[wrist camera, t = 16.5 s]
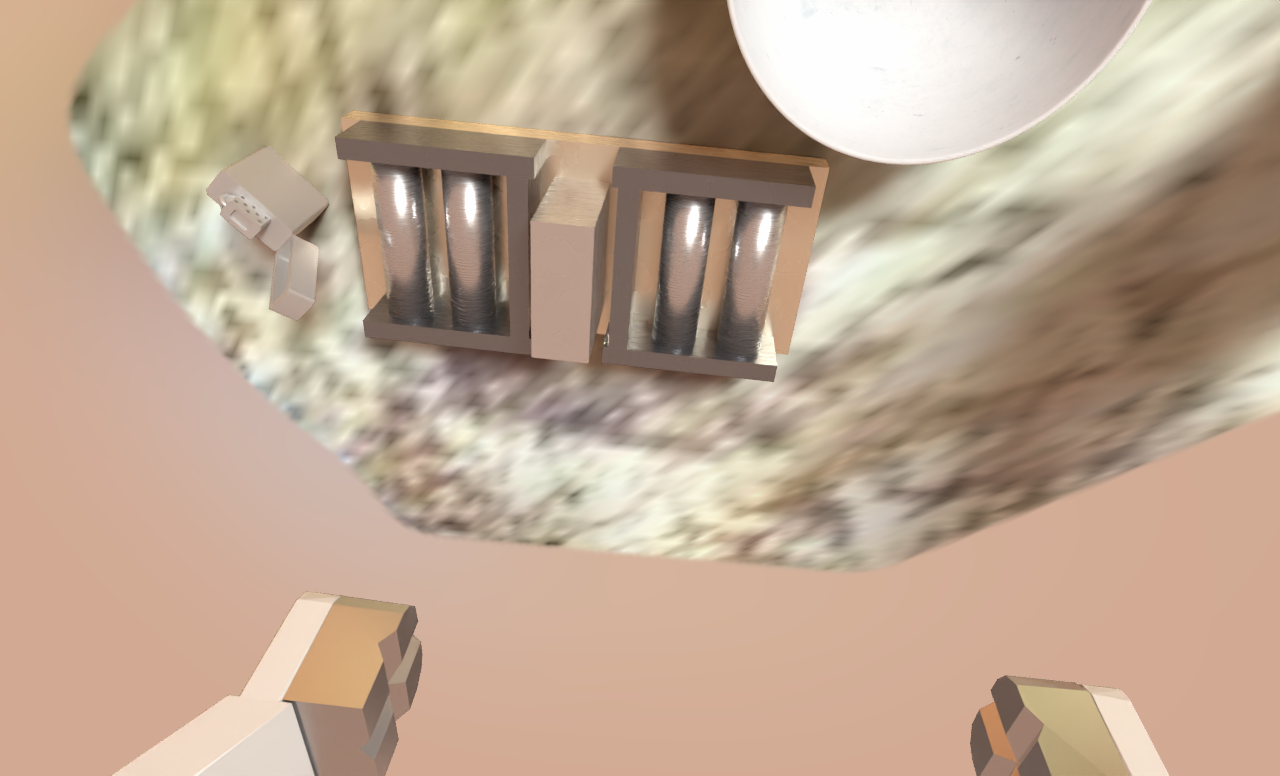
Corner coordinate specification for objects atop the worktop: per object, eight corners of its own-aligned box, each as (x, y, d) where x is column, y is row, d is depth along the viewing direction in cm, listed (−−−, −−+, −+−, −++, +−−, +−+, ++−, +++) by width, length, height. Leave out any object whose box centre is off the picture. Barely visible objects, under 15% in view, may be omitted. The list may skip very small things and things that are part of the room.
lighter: (249, 165, 40) (156, 220, 33) (267, 144, 39) (175, 196, 32) (355, 260, 42) (289, 328, 36) (373, 242, 42) (309, 308, 35)
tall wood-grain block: (610, 182, 37) (594, 227, 32) (603, 305, 41) (588, 363, 36) (555, 176, 37) (530, 220, 32) (553, 300, 41) (531, 357, 36)
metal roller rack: (825, 158, 37) (838, 189, 33) (785, 340, 43) (792, 383, 39) (352, 110, 37) (313, 134, 34) (378, 296, 43) (347, 334, 40)
